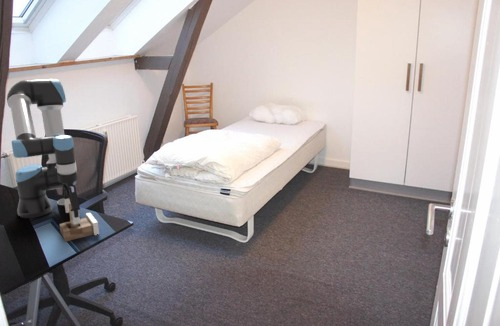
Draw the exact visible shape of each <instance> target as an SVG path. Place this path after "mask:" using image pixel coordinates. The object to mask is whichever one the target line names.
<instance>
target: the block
mask: <svg viewBox="0 0 500 326" xmlns="http://www.w3.org/2000/svg"><path fill="white" fill-rule="evenodd" d="M59 229H60V230H59V232H60V234H61V236H62V237H63V239H64V241H65V242H69V241H73V240H74V241H75V240H77V239H81V238H85V237H89V236H92V235H93V236H94V234H93V229H92V225H91V223H90V222H89V221H88V219H87V218H86V217H82V218H80V223H78V227H74V228H71V222H65V223H63V222H61V223H59Z"/></svg>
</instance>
